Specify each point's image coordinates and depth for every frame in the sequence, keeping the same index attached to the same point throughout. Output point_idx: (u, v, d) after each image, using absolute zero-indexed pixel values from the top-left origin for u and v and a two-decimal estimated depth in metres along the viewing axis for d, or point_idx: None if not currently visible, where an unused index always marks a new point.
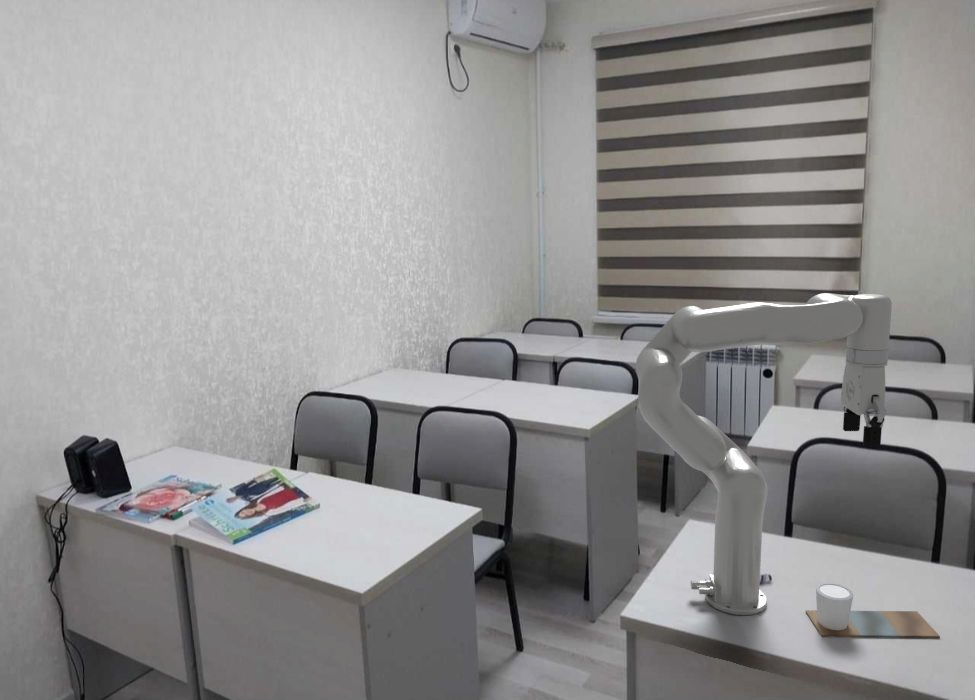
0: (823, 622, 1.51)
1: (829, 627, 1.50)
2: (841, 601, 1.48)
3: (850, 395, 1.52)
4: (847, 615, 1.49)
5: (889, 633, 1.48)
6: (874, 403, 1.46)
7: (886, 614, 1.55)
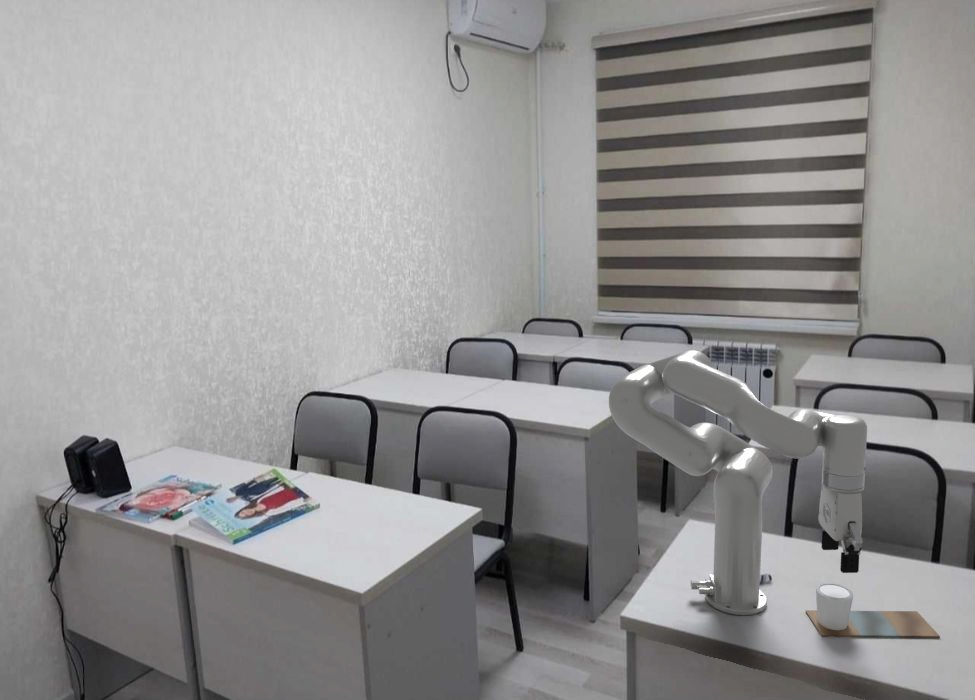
0: (823, 622, 1.51)
1: (829, 627, 1.50)
2: (841, 601, 1.48)
3: (827, 518, 1.48)
4: (847, 615, 1.49)
5: (889, 633, 1.48)
6: (851, 531, 1.42)
7: (886, 614, 1.55)
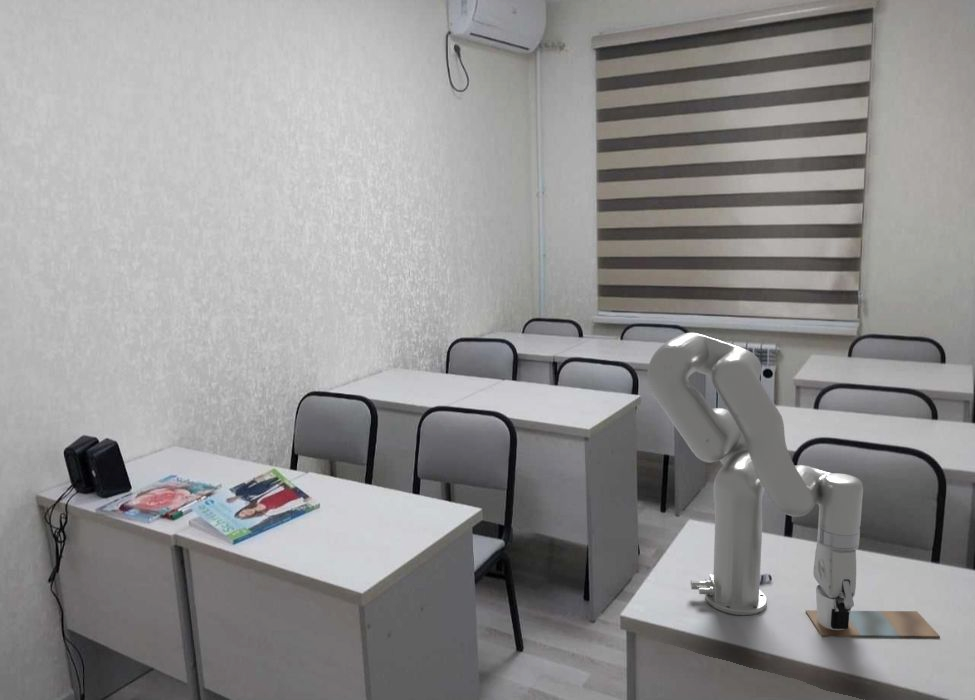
0: (823, 622, 1.51)
1: (829, 627, 1.50)
2: (841, 601, 1.48)
3: (822, 573, 1.50)
4: None
5: (889, 633, 1.48)
6: (843, 591, 1.45)
7: (886, 614, 1.55)
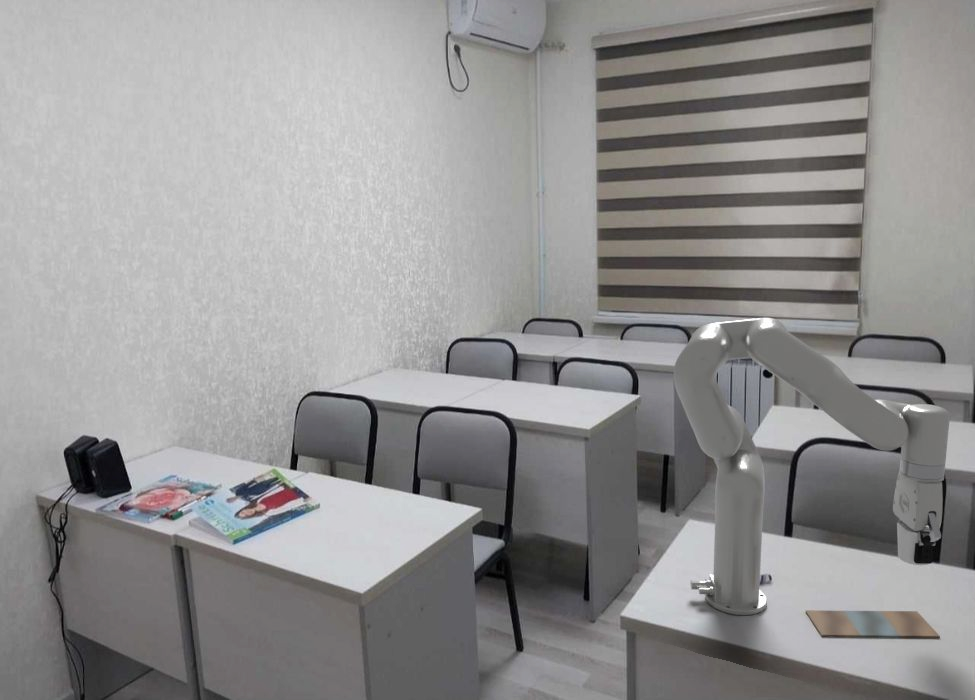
0: (905, 558, 1.47)
1: (912, 563, 1.46)
2: (925, 534, 1.44)
3: (904, 507, 1.46)
4: None
5: (889, 633, 1.48)
6: (929, 523, 1.41)
7: (886, 614, 1.55)
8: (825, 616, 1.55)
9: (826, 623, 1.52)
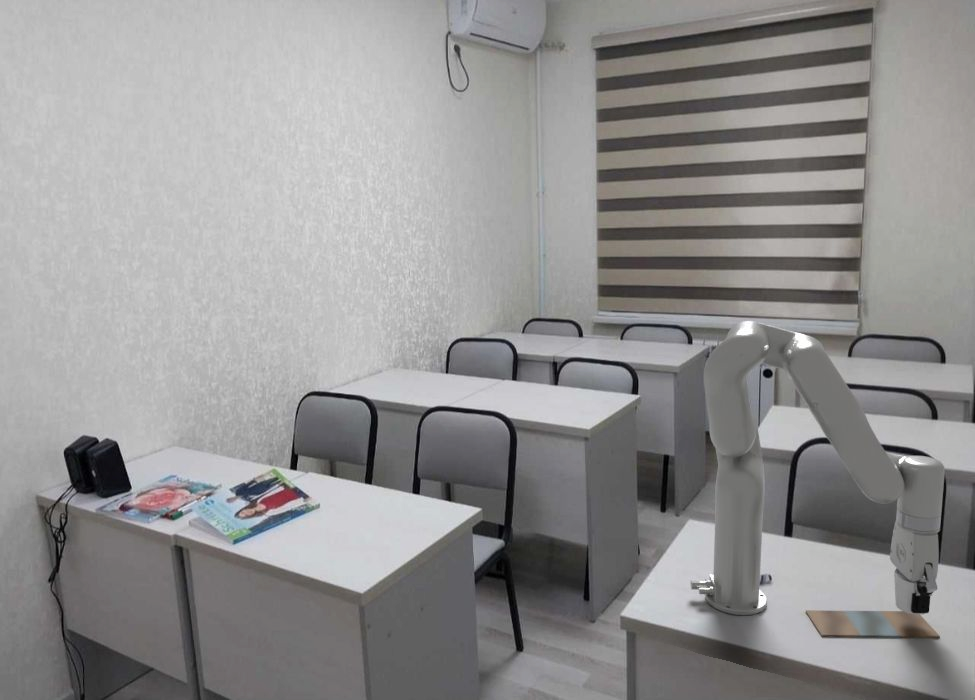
0: (903, 607, 1.49)
1: (909, 612, 1.48)
2: (922, 585, 1.46)
3: (901, 557, 1.48)
4: None
5: (889, 633, 1.48)
6: (926, 575, 1.43)
7: (886, 614, 1.55)
8: (825, 616, 1.55)
9: (826, 623, 1.52)
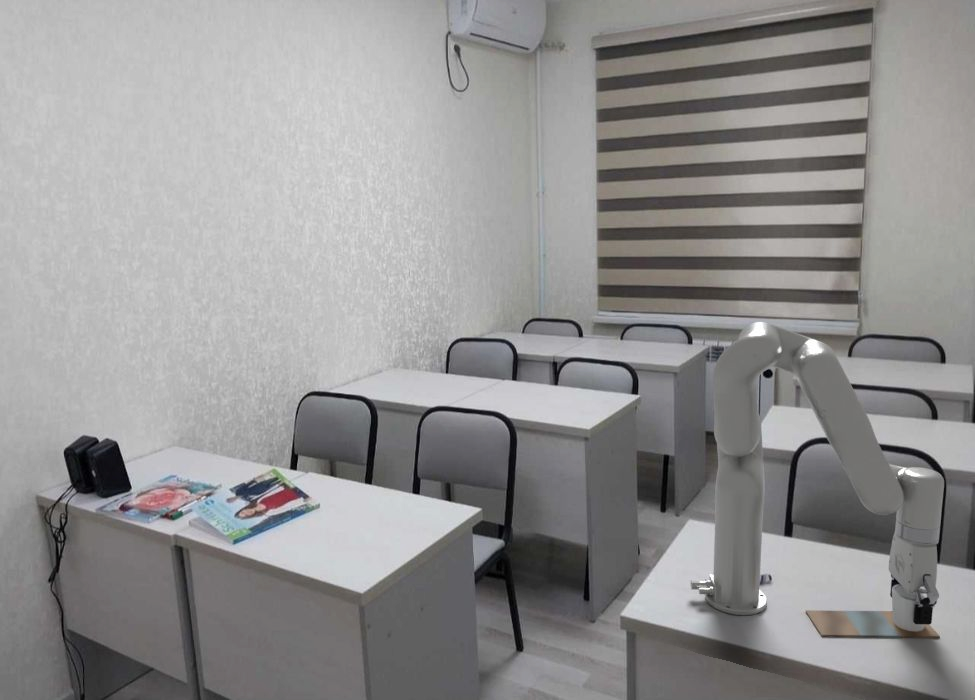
0: (900, 623, 1.50)
1: (906, 629, 1.49)
2: None
3: (899, 568, 1.49)
4: None
5: (889, 633, 1.48)
6: (926, 584, 1.43)
7: (886, 614, 1.55)
8: (825, 616, 1.55)
9: (826, 623, 1.52)
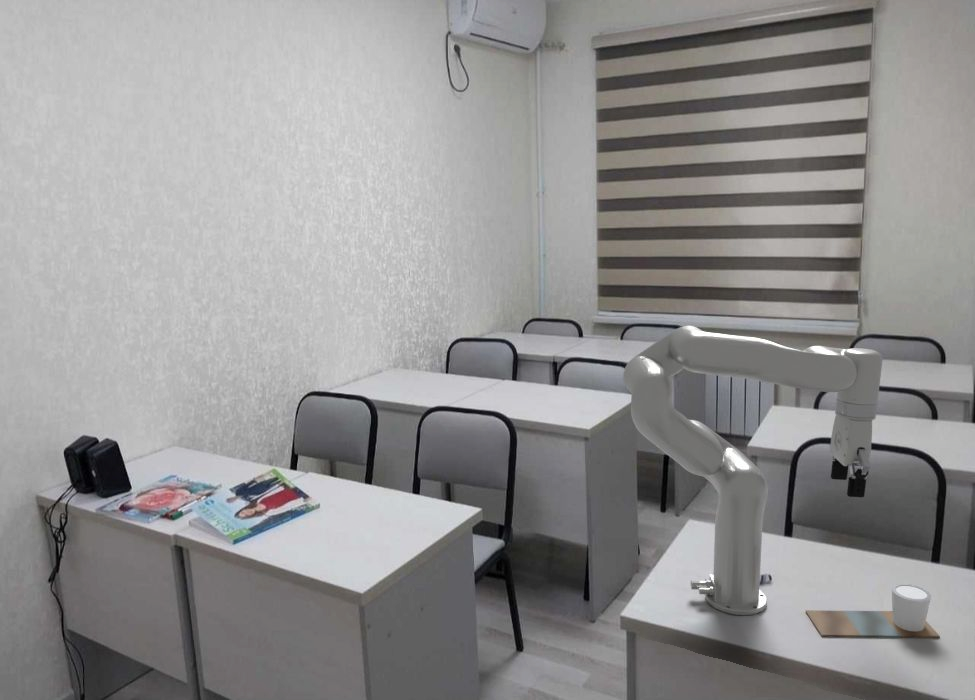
0: (900, 623, 1.50)
1: (906, 629, 1.49)
2: (920, 602, 1.46)
3: (838, 445, 1.56)
4: (925, 616, 1.48)
5: (889, 633, 1.48)
6: (859, 456, 1.50)
7: (886, 614, 1.55)
8: (825, 616, 1.55)
9: (826, 623, 1.52)
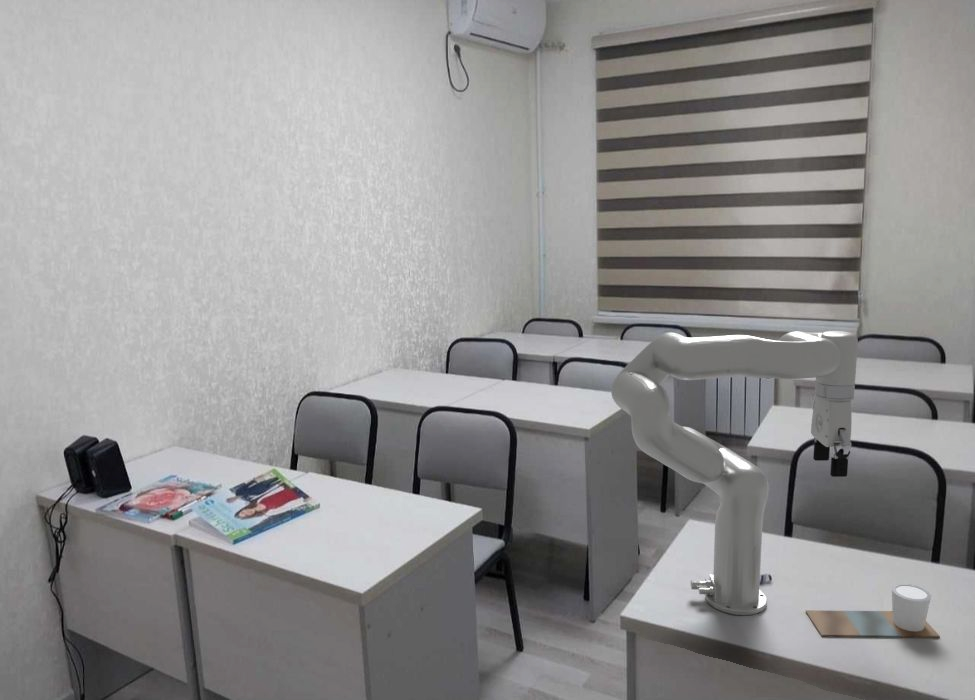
0: (900, 623, 1.50)
1: (906, 629, 1.49)
2: (920, 602, 1.46)
3: (819, 427, 1.59)
4: (925, 616, 1.48)
5: (889, 633, 1.48)
6: (840, 436, 1.53)
7: (886, 614, 1.55)
8: (825, 616, 1.55)
9: (826, 623, 1.52)
